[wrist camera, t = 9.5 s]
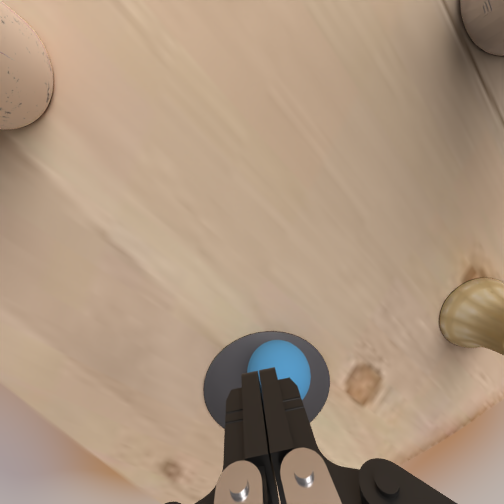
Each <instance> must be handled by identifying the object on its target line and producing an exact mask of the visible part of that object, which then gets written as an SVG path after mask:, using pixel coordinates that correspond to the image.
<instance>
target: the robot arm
mask: <svg viewBox="0 0 504 504" xmlns="http://www.w3.org/2000/svg"><path fill="white" fill-rule="evenodd" d="M460 4H461V15H462V19H463V23H464V26H465V28H466V30H467V32H468V35H469V37H470V38H471V39H472V40H473V42H474V43H475V44H476V45H477V46H478V47H480V48H481V49H482V50H484V51H485V52H488V53H491V54H494V55H502V56H504V0H460ZM259 375H260V379H259ZM241 380H242V387H241V388H236V389H232V390H231V391H230V393H229V395H228V397H227V400H226V415H225V439H224V465H223V471H222V473H221V475H220V477H219V479H218V482H217V485H216V486H215V488H214V489H213V490H212V491H211V492H210V493H209V494H208V495H207V496H206V497H204V498H203V499H201V500H200V501H198V502H197V503H195V504H279V498H278V491H279V496H280V501H281V504H457V503H455V502H454V501H452V500H451V499H449V498H448V497H446V496H444V495H443V494H441V493H440V492H438V491H437V490H435V489H433V488H432V487H430V486H429V485H427V484H426V483H424V482H423V481H421V480H420V479H418V478H416V477H415V476H413V475H412V474H410V473H409V472H407V471H406V470H404V469H403V468H401V467H399V466H398V465H396V464H395V463H393V462H391V461H388V460H385V459H379V458H376V459H371V460H368V461H366V462H365V463H364V464H363V465H362V467H361V469H360V470H359V469H352V468H346V467H341V466H338V465H335V464H334V463H332V462H330V461H329V460H327V459H326V458H325V457H324V456H323V455H322V453H321V452H320V450H319V449H318V447H317V444H316V441H315V438H314V435H313V432H312V429H311V426H310V423H309V420H308V417H307V414H306V411H305V408H304V405H303V402H302V399H301V396H300V393H299V389H298V386H297V385H296V384H295V383H294V382H293V381H292V380H291V379H290V377H289V378H284V379H279V380H278V378H277V374H276V370H275V367H272V368H268V369H263V370H259V374H258V371H253V372H249V373H244V374H241ZM260 382H261V384H260ZM276 482H277V484H276ZM277 486H278V491H277ZM165 504H181V503H178V502H168V503H165Z"/></svg>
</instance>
